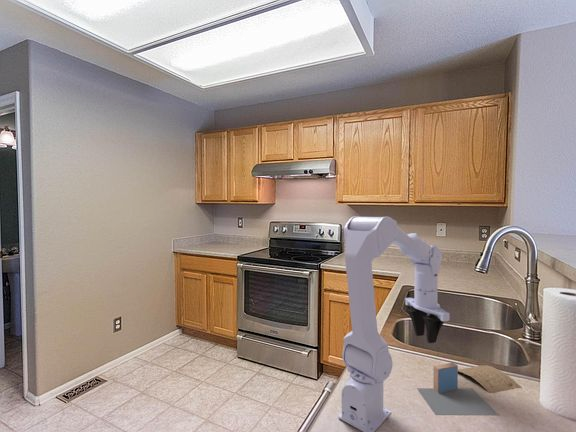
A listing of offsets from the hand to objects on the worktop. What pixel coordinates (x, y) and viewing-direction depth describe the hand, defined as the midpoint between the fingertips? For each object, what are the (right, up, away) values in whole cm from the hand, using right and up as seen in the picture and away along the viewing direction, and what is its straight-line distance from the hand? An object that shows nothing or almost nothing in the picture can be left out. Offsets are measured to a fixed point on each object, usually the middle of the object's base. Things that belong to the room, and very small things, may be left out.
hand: (425, 338), depth 83 cm
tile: (+2, -10, -7) cm, 12 cm away
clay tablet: (+15, -11, -2) cm, 19 cm away
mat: (+2, -11, -11) cm, 15 cm away
